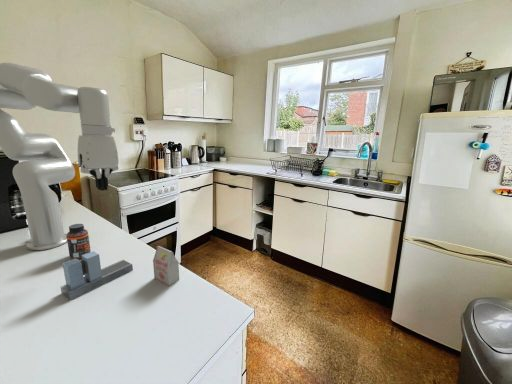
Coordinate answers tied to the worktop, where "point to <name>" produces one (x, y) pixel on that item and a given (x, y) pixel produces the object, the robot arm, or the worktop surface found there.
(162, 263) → the white drink carton
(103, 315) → the worktop surface
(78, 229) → the supplement bottle
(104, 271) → the rail
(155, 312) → the worktop surface
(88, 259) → the block
